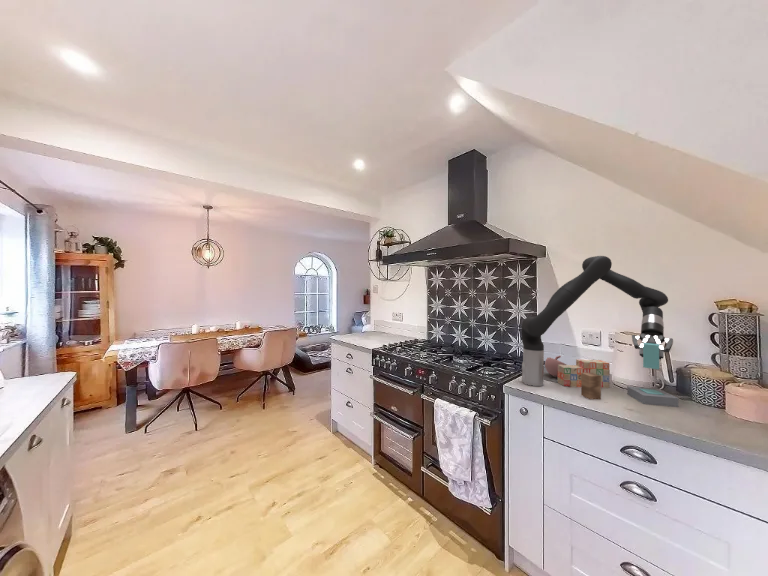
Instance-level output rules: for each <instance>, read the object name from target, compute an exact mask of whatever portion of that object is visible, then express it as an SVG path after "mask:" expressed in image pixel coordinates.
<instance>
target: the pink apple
mask: <svg viewBox="0 0 768 576" xmlns="http://www.w3.org/2000/svg"><path fill="white" fill-rule="evenodd" d="M561 356H562V355H557V356H555V358H553V357H547V358H546V359H545V361H544V368H545V370H546V372H547V373H548V374H549V375H551V376H553V377H554V378H558V365H568V364H567V363H564V362H562V361H560V360H558V359H560V358H562V357H561Z"/></svg>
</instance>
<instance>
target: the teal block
mask: <svg viewBox="0 0 768 576" xmlns="http://www.w3.org/2000/svg"><path fill="white" fill-rule="evenodd" d="M642 360H643V361H642V362H643V363H642V364H643V367H642V368H645V369H646V368H647V369H653V370H660V359H659V344H653V343H644V344H643V357H642Z"/></svg>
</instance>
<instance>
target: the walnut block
mask: <svg viewBox="0 0 768 576" xmlns="http://www.w3.org/2000/svg"><path fill="white" fill-rule="evenodd" d="M580 388H581V391H580V392H581V396H582V397H584V398H586V399H588V400H601V399H602V397H601V396H602V394H601V393H602V388H601V376H599V375H597V374H594V373H581V387H580Z"/></svg>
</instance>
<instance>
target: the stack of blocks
mask: <svg viewBox="0 0 768 576" xmlns="http://www.w3.org/2000/svg"><path fill="white" fill-rule="evenodd" d="M610 365H611V364H610V362H607V361H604V360H602V359H600V360H599V359H579V358H578V359H575V365H574V364H567V365H558V377H557V383H558V384H559V385H562V386H563V387H572V388H573V387H575V388H577V387H579V388H581V373H594V374H597V375H599V376H601V389H602V388H603V389H605V388H607V389H609V388H610V375H611V373H610V372H611V369H610Z"/></svg>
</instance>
